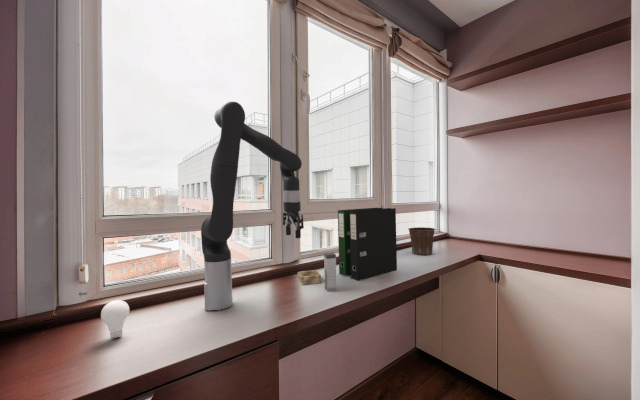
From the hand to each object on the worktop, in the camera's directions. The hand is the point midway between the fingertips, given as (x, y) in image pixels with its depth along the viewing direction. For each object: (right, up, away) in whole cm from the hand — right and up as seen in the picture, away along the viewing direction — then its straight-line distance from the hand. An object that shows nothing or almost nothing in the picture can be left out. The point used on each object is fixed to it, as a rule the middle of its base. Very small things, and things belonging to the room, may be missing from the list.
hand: (293, 236), depth 124 cm
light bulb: (-47, -24, -44) cm, 69 cm away
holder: (+7, -21, +4) cm, 23 cm away
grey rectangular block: (+17, -21, -8) cm, 28 cm away
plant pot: (+78, -18, +55) cm, 97 cm away
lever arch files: (+37, -20, +15) cm, 45 cm away
